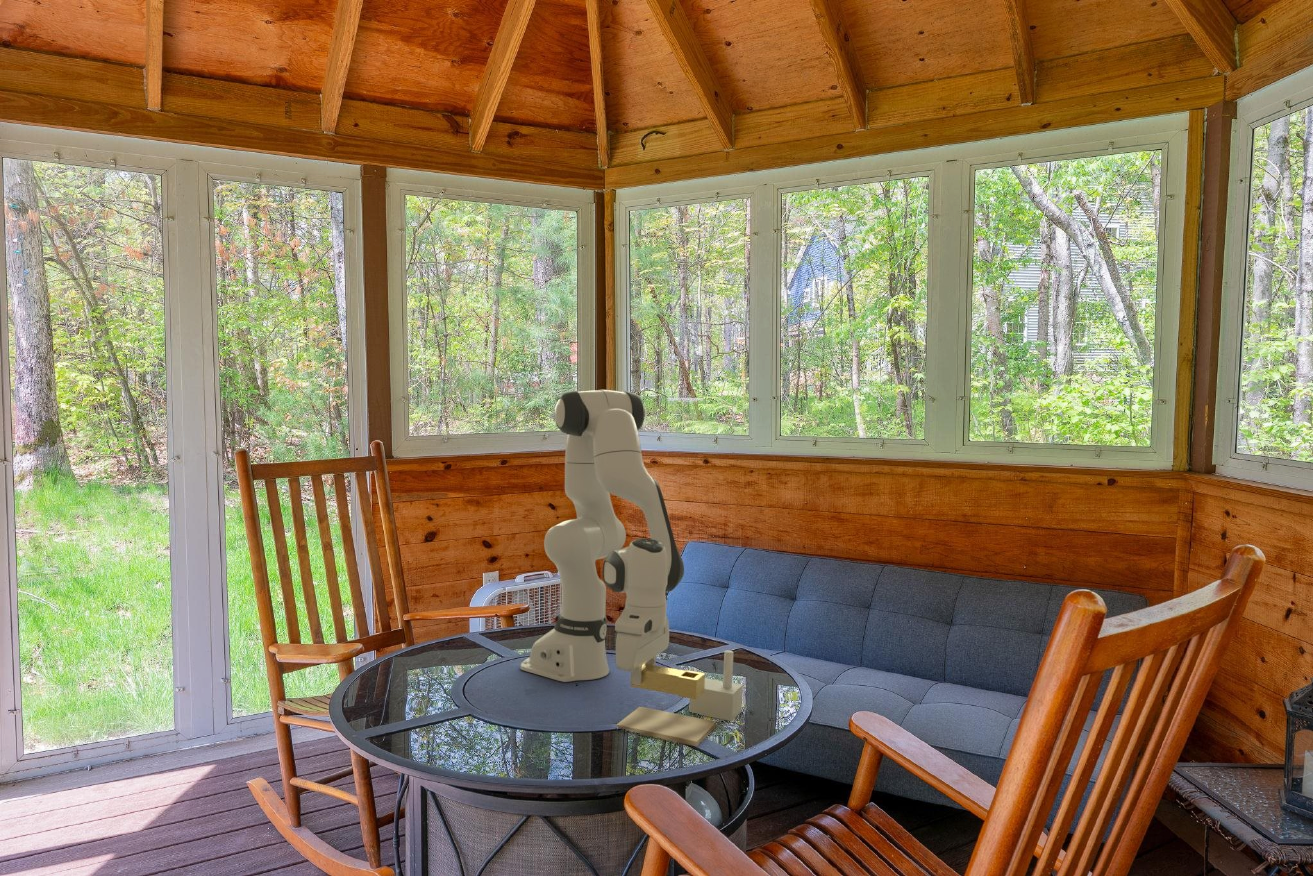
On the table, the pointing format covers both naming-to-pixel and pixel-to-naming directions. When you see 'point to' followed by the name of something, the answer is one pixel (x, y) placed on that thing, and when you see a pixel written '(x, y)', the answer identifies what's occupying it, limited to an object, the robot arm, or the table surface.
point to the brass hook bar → (672, 681)
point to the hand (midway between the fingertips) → (642, 680)
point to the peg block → (720, 695)
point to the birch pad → (667, 725)
